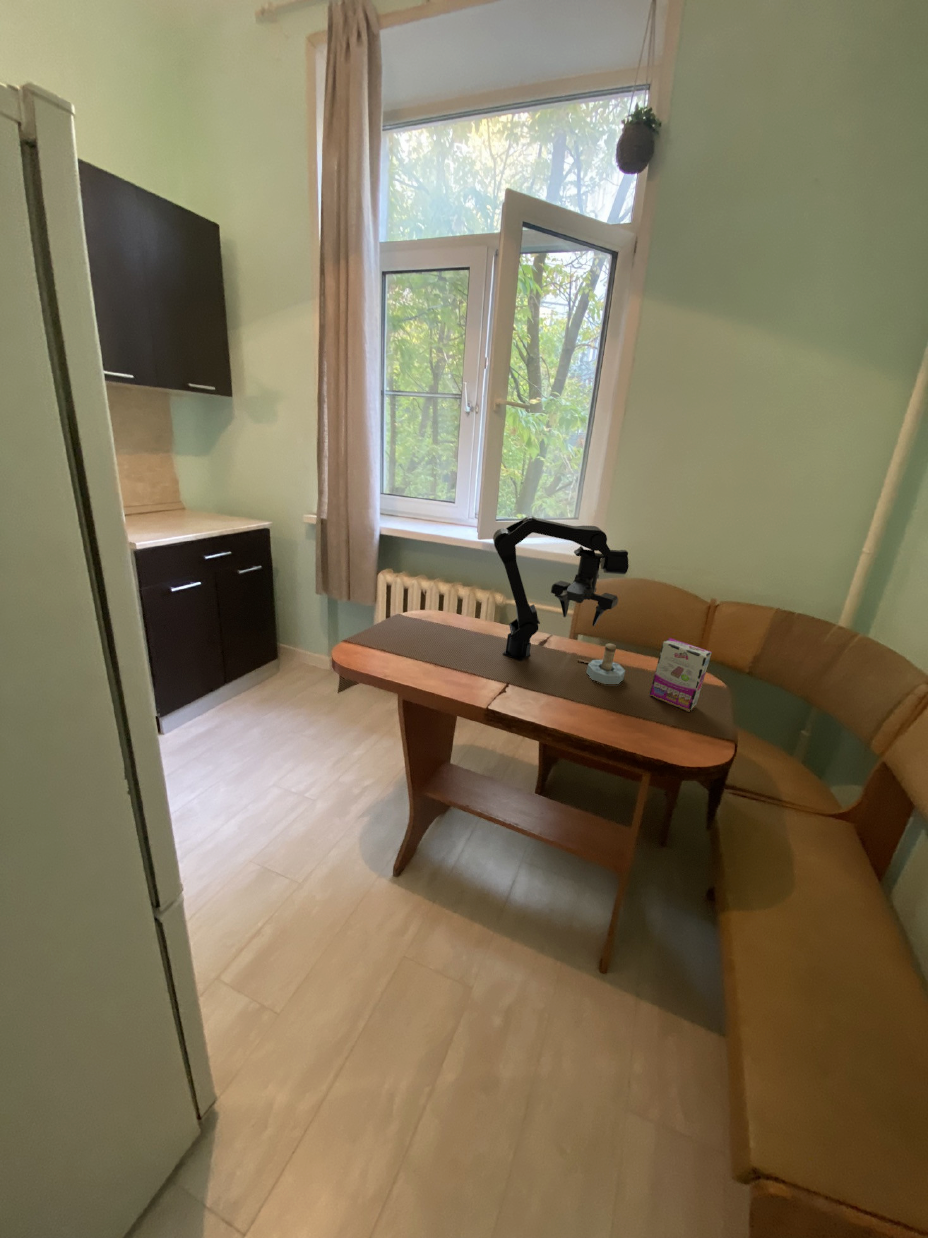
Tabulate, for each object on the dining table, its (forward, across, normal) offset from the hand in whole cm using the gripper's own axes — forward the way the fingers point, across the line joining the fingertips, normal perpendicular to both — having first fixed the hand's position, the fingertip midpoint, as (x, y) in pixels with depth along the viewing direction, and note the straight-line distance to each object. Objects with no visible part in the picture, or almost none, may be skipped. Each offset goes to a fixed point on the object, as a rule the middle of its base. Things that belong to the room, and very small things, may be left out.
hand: (578, 621), depth 144 cm
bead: (+12, +12, -4) cm, 18 cm away
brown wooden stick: (+12, +8, +1) cm, 15 cm away
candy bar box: (+13, +31, -4) cm, 34 cm away
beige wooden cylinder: (+12, +12, -4) cm, 18 cm away
